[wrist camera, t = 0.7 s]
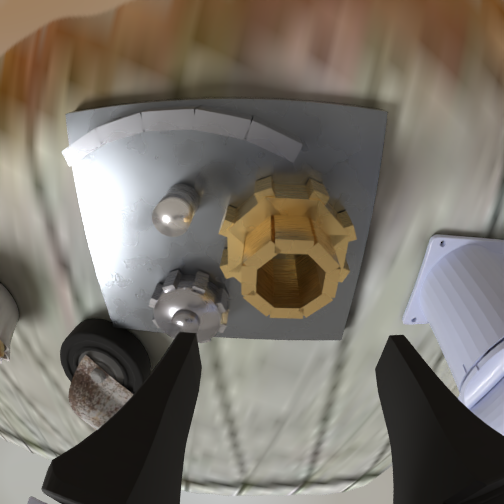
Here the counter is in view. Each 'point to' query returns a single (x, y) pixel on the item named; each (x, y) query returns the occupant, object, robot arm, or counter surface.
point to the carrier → (212, 202)
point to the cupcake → (7, 322)
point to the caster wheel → (102, 369)
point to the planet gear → (287, 248)
